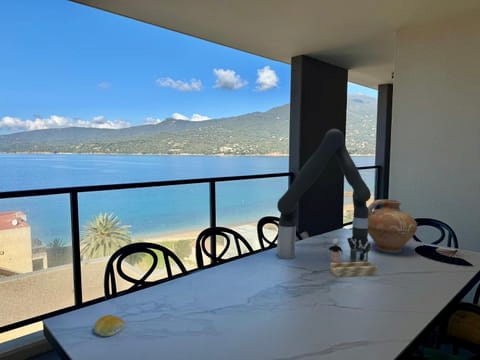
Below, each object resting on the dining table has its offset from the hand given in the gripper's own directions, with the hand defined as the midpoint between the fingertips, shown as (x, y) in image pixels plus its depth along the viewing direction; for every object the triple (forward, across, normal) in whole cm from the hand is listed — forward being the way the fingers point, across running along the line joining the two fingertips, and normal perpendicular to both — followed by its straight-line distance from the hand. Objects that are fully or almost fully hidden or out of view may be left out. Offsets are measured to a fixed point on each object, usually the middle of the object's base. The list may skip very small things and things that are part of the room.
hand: (359, 259), depth 164 cm
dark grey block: (+2, 0, 0) cm, 2 cm away
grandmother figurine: (+2, -8, -9) cm, 12 cm away
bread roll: (+3, -12, -120) cm, 120 cm away
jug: (+3, -3, +35) cm, 35 cm away
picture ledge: (+2, +6, -14) cm, 15 cm away
